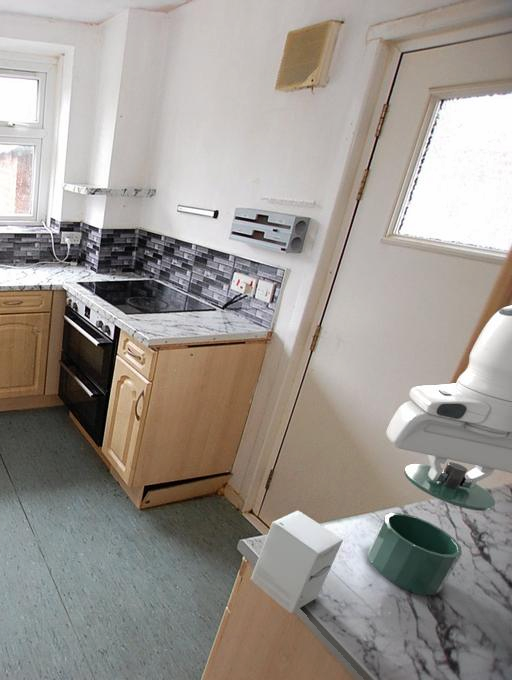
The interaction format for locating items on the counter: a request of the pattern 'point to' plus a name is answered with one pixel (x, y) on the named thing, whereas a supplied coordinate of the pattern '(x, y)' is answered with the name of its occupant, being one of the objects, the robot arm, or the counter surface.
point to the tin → (414, 553)
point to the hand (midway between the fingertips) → (449, 482)
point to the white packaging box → (295, 560)
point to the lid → (450, 487)
